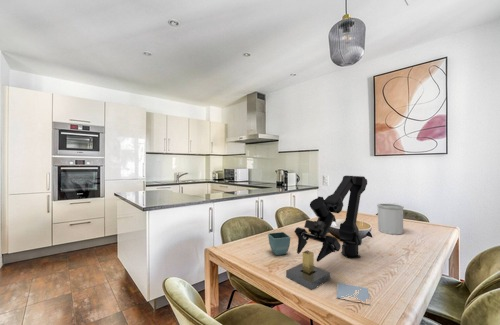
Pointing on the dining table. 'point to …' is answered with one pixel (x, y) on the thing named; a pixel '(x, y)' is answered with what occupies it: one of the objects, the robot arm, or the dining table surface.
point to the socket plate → (308, 276)
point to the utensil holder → (390, 218)
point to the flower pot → (279, 242)
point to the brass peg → (308, 262)
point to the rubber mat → (352, 291)
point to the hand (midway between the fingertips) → (307, 257)
